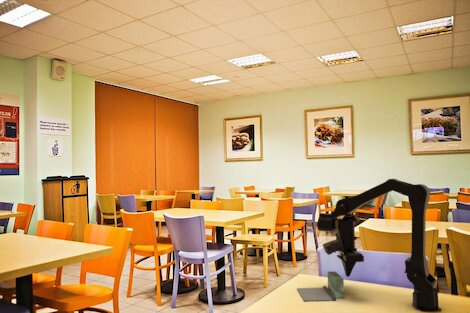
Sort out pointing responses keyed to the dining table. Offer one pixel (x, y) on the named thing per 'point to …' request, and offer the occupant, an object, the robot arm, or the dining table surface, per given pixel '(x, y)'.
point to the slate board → (316, 294)
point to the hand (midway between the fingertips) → (347, 276)
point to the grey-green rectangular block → (336, 284)
